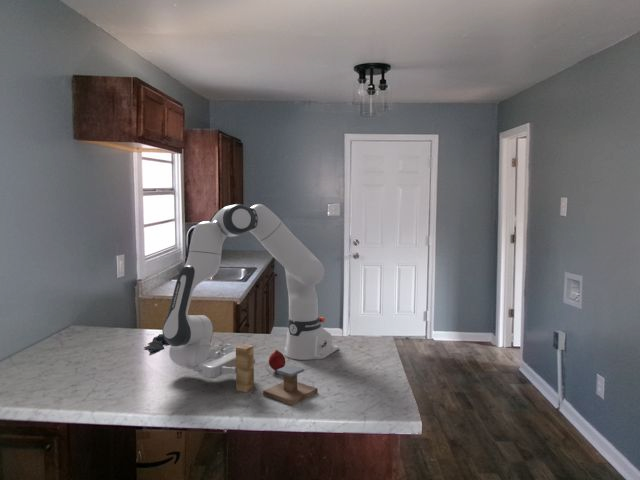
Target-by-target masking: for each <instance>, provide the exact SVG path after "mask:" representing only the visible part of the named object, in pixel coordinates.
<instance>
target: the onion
mask: <svg viewBox="0 0 640 480" xmlns="http://www.w3.org/2000/svg"><path fill="white" fill-rule="evenodd" d="M268 365H269V366H270V368H271V369H272V370H274V371H275V372H276V373H277V369H280V368H282V367H285V366H286V357H285V355H284V354H283V353H282V352H281V351H279V350H278V348H275V350H274V352H273V353H271V354H270V355H269V358H268Z"/></svg>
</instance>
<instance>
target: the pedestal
mask: <svg viewBox="0 0 640 480" xmlns="http://www.w3.org/2000/svg"><path fill="white" fill-rule="evenodd" d="M304 372H305V368H302V367H299V366H297V365H296V366H295V365H293V364H287V365H285V366H284V367H282V368H280V369H277V372H276V373H277V374H280V375H283V381H282V382H280V383H277V384H275V385H273V386H271V387H268V388H267V389H266V388H265V389H264V390H262V396H264V397H267V398H270V399H272V400H275V401H279V402H281V403H285V404H287V405H289V406H294V405H296V404H298V403H300V402H302V401H304V400H306V399H309V398H310V397H313V396H314V395H317V394H318V391H319V389H318V388H317V387H315V386H313V385H312V386H311V385H308V384H304V383H301V382H298V375H299V374H300V373H304Z"/></svg>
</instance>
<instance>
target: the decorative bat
mask: <svg viewBox="0 0 640 480" xmlns="http://www.w3.org/2000/svg"><path fill="white" fill-rule="evenodd" d="M164 345H169V344H168V343H167V341H166V340H165V338H164V336H163V333H161V334H158V335H157V336H154V337H153V338H152V341H150V342H149V343H147V345H146V346H144V347H143V349H146V350H147V351H149V352H151V353H152V352H159V351H162V350H164V349H165V347H164Z"/></svg>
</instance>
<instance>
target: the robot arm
mask: <svg viewBox="0 0 640 480" xmlns="http://www.w3.org/2000/svg"><path fill="white" fill-rule="evenodd" d="M248 232H249V233H251V235H253V236H254V237H255V238H256V239H257V240H258V242H259V243H260V244H261V245H262V246H263V247H264V249H265V250H267V252H268V253H269V254H270V255H271V256H272V257H273V258H274V259H275V260H276V261H277V262H278V263H279V264H280V265H281V266H282V267H283V268H284V271H285V272H284V273H285V280H286V288H287V294H288V318H287V328H288V330H287V333H286V340H285V341H286V342H285V346H284V356H286V357H287V358H288V359H293V360H299V361H300V360H306V361H307V360H323V359H325V358H327V357H329V356H330V355H331V354H333V353H334V352H336V351H337V350H339V345H337V344H334V343H333V337H332V334H331V332H329V331H328V330H326V329H325V328H323V326H322V325H321V323H326V318H325V317H322V316H318V315H319V307H318V306H319V304H318V303H319V298H318V294H317V291H316V285H317V284H319V283H320V282H321V281H322V280H323V278H324V275H325V267H324V265H323V263H322V262H321V261H320V260H319V259H318V258H317V257H316V256H315V255H314V253H312V251H311V250H310V249H309V248H308V247H307V246H305V245H304V244H303V243H302V241H301V240H299V238H298V237H296V236H295V235H294V234H293V233H292V231H290V229H289V228H288V227H287V226H286V225H285V224H284V222H283V221H282V220H281V219H280V218H279V217H278V216H277V215H276V213H274V212H273V211H272V210H270V208H268V207H267V206H265V205H264V204H261V203H257V204H254V205H252V206H250V207H249V206H247V205H244V204H240V203H235V204H231V205H226V206H224V207H223V208H221V209H218V210H217V211H216V212H215V213H214V214H213V215H212V217H211V218H210V219H209V220H207V221H206V220H204V221H201V222H198V223H197V224H196V225H194V229H193V231H192V234H191V239H190V243H189V248H188V255H187V258H186V262H185V264H184V266H183V267H182V268H181V269H180V271H179V273H178V275H177V279H176V282H175V285H174V290H173V295H172V298H171V301H170V306H169V309H168V313H167V316H166V317H165V319H164V322H163V324H162V330H161V331H162V334H163V336H164V338H165V340H166V341H167V343H168V344H167V345H169V346H170V347H169V351H168V353H169V358H170V360H171V361H172V362H173V363H174V364H175V365H177V366H179V367H182V368H186V369H188V370H192V371H194V372H197V373H198V374H199V376H202V377H205V378H209V379H216V378H217V377H220V376H222V375H226V374H227V375H228V374H231V375H236V373H237V367H236V347H237V346H236V345H235V346H232V344H231V343H223V344H217V345H216V344H212V345H211V343H212V339H213V334H214V325H213V322H212V321H211V319H210V318H209V317H208V316H207V315H205V314H204V315H203V314H201V315H200V314H191V315H190V314H189V308H190V305H191V301H192V297H193V293H194V290H195V289H196V287H197V286H199V284H201V283H203V282H205V281H208V280H209V279H211V278H213V277H214V276H215V275H216V274H218V272H219V269H220V266H221V261H222V251H223V244H224V242H225V240H226V239H228V238H236V237H239V236H241V235H244V234H247V233H248ZM254 364H256V359H255V358H254Z"/></svg>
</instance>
